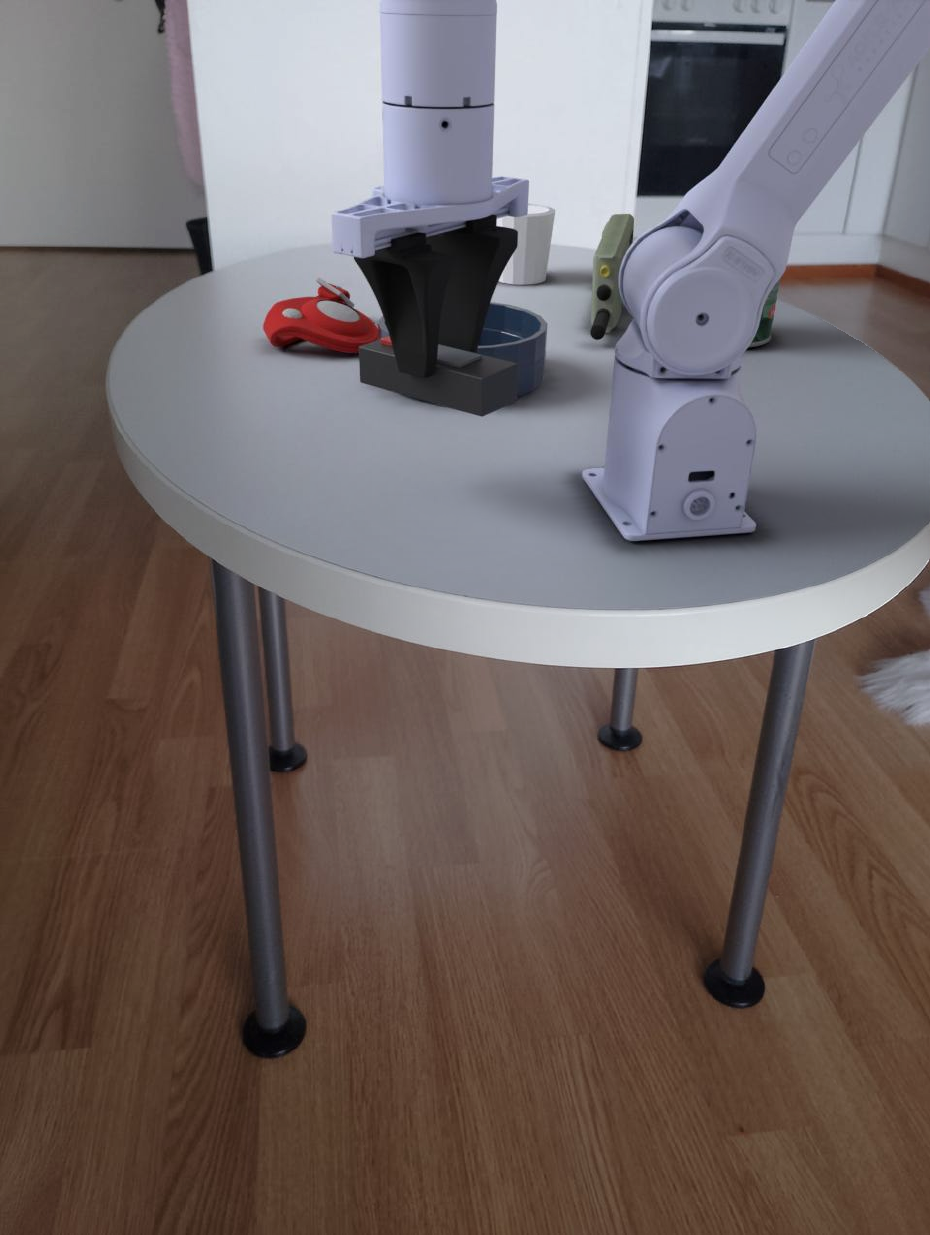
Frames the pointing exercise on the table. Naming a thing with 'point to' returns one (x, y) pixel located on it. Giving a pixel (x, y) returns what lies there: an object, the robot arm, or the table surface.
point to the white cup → (529, 245)
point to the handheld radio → (609, 274)
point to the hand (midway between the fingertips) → (437, 364)
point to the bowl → (510, 342)
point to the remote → (444, 378)
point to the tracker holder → (320, 321)
